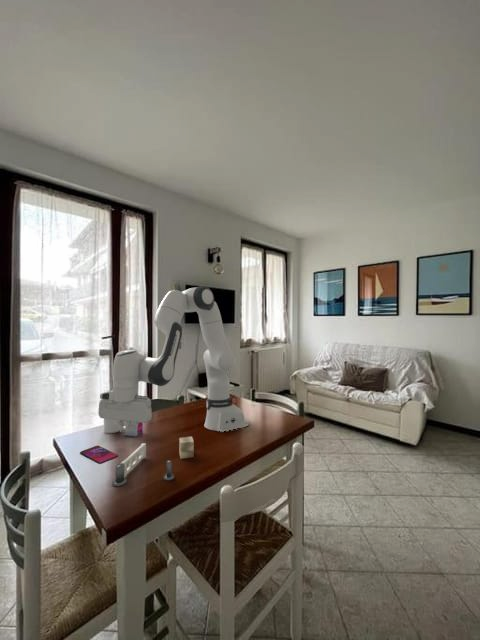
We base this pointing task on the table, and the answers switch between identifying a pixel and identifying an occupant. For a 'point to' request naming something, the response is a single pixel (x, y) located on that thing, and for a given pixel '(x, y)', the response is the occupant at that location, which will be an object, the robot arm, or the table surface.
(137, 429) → the supplement box
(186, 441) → the beech block
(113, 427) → the pill bottle
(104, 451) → the smartphone
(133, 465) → the gate
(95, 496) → the table surface
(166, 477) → the post
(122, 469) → the hinge post
